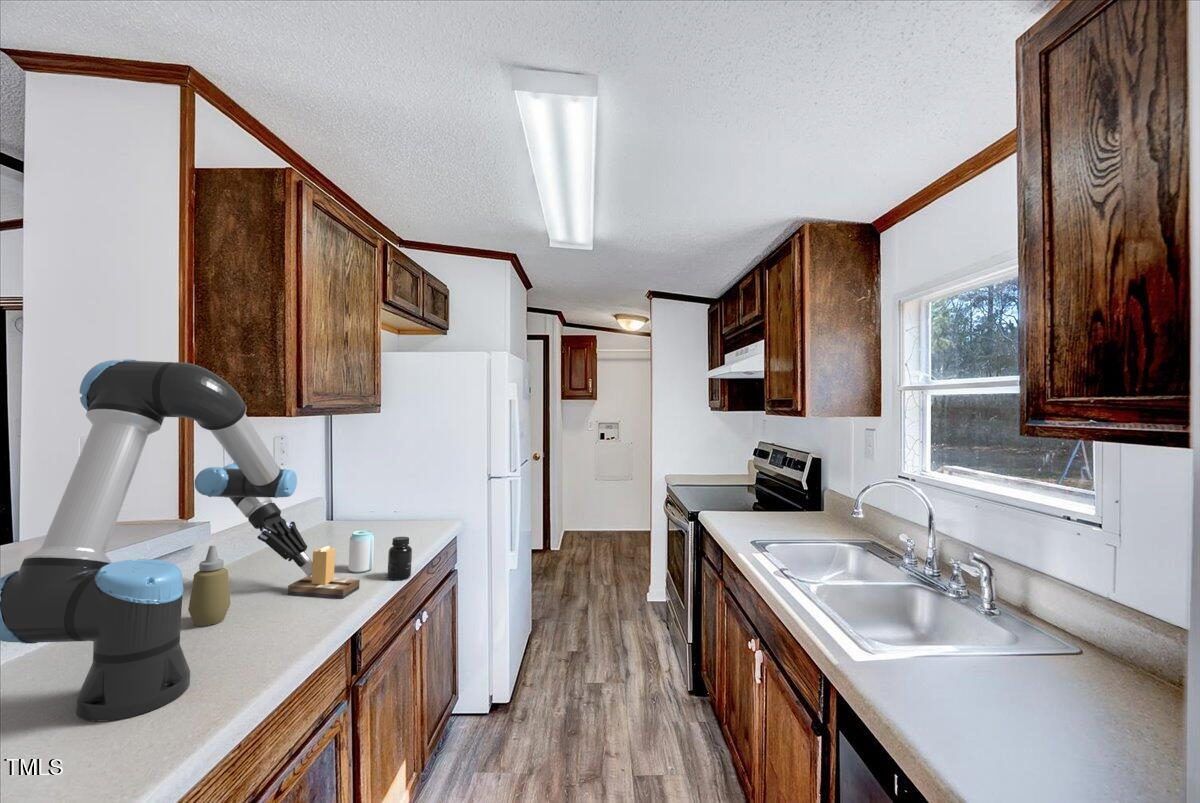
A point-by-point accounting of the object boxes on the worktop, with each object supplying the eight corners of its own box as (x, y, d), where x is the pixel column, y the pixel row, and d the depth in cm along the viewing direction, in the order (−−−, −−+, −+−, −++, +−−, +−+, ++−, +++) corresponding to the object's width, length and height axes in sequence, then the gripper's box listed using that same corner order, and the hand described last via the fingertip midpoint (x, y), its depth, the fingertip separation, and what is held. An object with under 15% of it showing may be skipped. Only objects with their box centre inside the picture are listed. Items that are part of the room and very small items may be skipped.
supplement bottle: (413, 578, 159) (415, 539, 159) (390, 582, 155) (391, 542, 155) (407, 572, 165) (409, 534, 165) (385, 575, 161) (386, 536, 161)
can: (343, 572, 163) (344, 533, 163) (358, 565, 170) (360, 528, 170) (362, 574, 161) (364, 535, 161) (377, 568, 168) (379, 530, 168)
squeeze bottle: (207, 631, 119) (210, 552, 119) (178, 626, 121) (181, 549, 121) (238, 617, 127) (241, 543, 127) (210, 613, 129) (214, 540, 129)
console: (287, 594, 143) (287, 585, 143) (306, 584, 151) (306, 575, 151) (343, 598, 141) (343, 589, 141) (359, 588, 149) (359, 579, 149)
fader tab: (311, 589, 144) (313, 549, 144) (320, 584, 148) (321, 545, 148) (325, 590, 144) (326, 549, 144) (333, 585, 148) (335, 546, 148)
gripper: (267, 514, 155) (318, 574, 153) (233, 524, 142) (288, 589, 140) (285, 497, 154) (336, 557, 153) (252, 505, 142) (307, 571, 140)
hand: (313, 572), depth 147 cm, fingers closed
